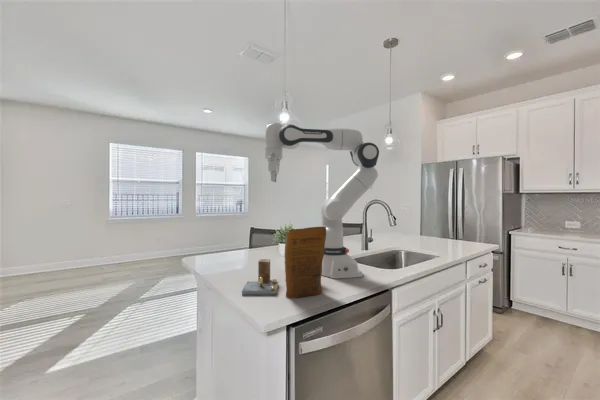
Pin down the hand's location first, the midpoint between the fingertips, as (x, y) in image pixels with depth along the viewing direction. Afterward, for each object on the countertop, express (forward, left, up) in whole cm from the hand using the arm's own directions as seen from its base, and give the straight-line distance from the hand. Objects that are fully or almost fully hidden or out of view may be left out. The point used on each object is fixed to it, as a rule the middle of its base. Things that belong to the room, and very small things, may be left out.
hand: (273, 181), depth 142 cm
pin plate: (+3, +25, -48) cm, 54 cm away
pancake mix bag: (-16, +31, -48) cm, 59 cm away
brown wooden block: (+3, +13, -48) cm, 50 cm away
